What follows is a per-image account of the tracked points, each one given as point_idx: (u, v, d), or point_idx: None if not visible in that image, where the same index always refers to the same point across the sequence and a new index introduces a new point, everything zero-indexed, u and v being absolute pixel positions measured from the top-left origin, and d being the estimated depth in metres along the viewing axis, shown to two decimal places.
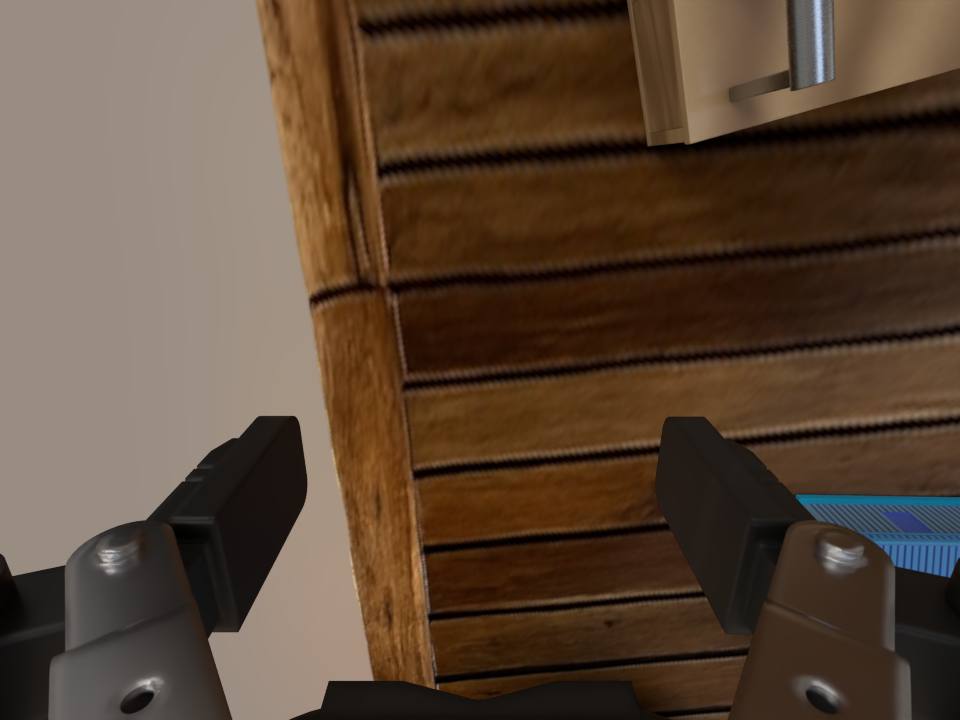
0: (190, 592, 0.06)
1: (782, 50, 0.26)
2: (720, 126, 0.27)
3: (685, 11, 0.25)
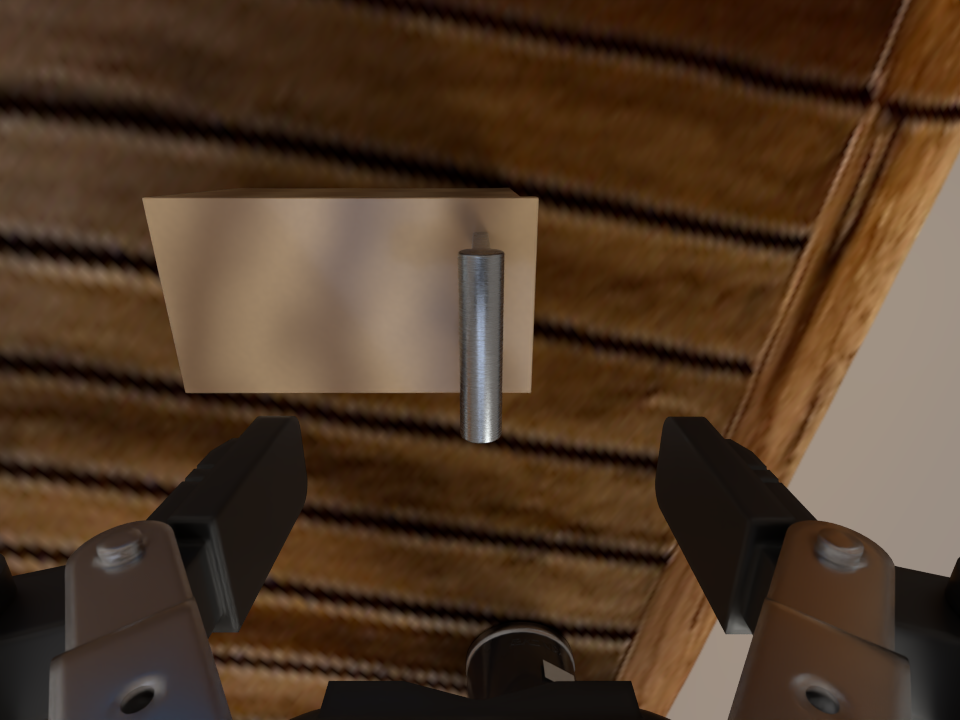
0: (190, 592, 0.06)
1: (427, 269, 0.23)
2: (500, 207, 0.22)
3: (523, 330, 0.24)
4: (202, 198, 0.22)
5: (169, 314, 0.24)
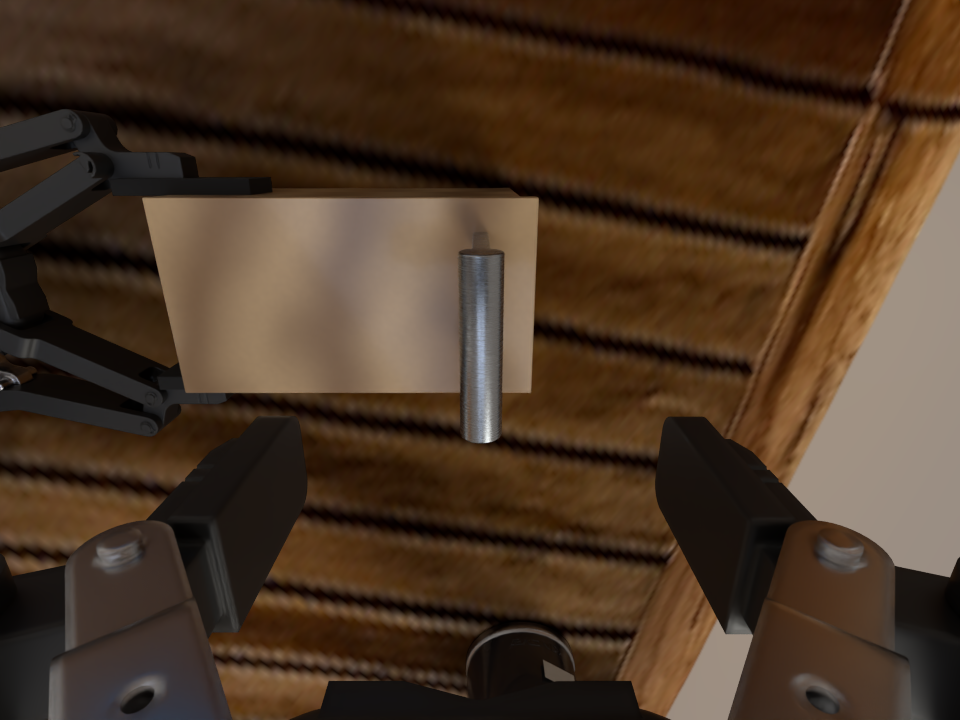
0: (190, 592, 0.06)
1: (427, 269, 0.23)
2: (500, 207, 0.22)
3: (523, 330, 0.24)
4: (202, 198, 0.22)
5: (169, 313, 0.24)
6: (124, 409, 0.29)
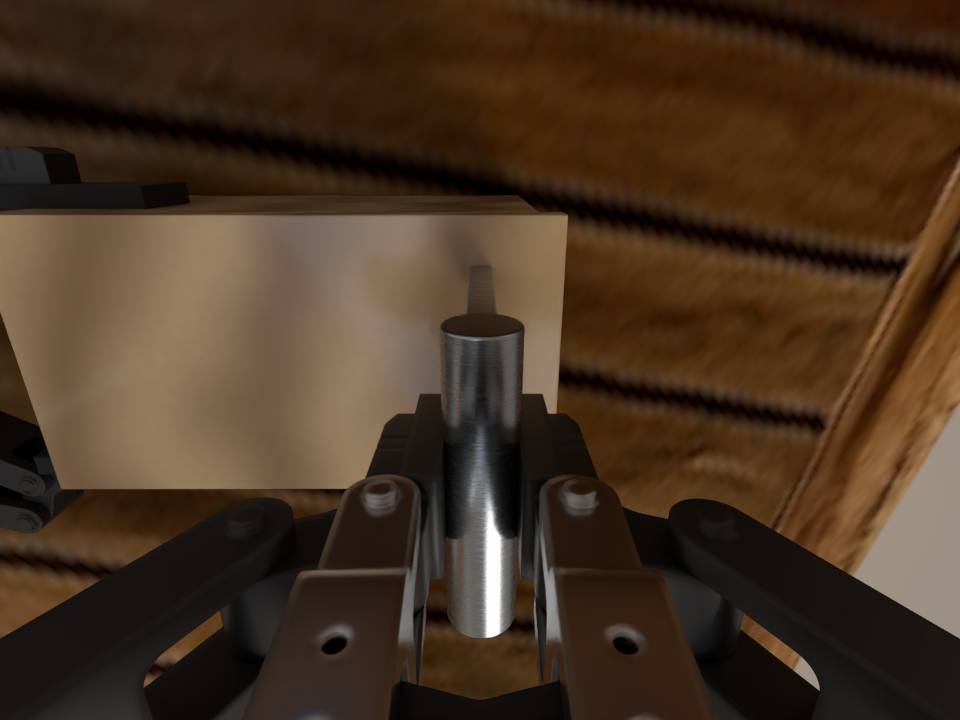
0: (412, 559, 0.07)
1: (401, 319, 0.16)
2: (510, 229, 0.15)
3: None
4: (59, 215, 0.15)
5: (26, 382, 0.17)
6: None
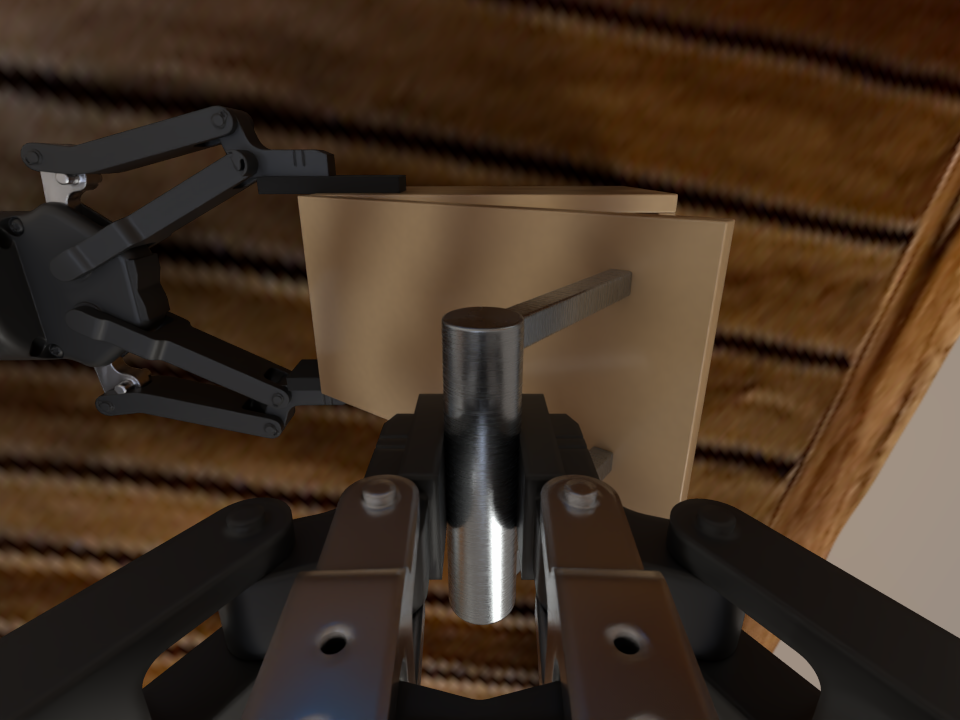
0: (411, 558, 0.07)
1: None
2: (657, 234, 0.13)
3: (673, 436, 0.15)
4: (337, 199, 0.21)
5: (312, 314, 0.24)
6: (247, 411, 0.28)
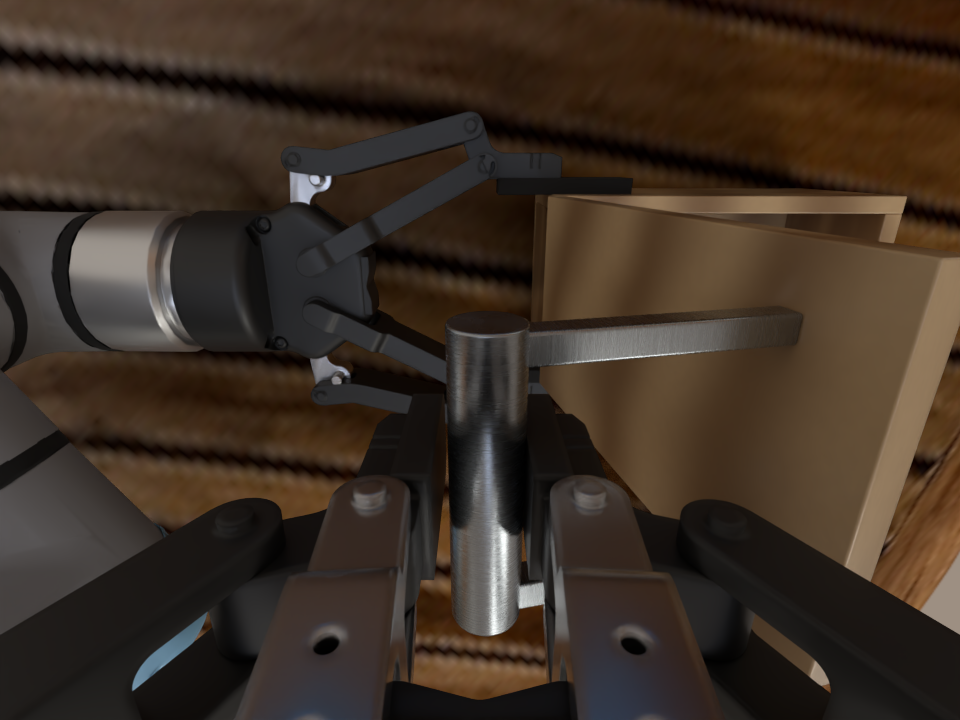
0: (403, 558, 0.07)
1: None
2: (842, 266, 0.09)
3: None
4: (571, 200, 0.21)
5: (543, 307, 0.25)
6: None
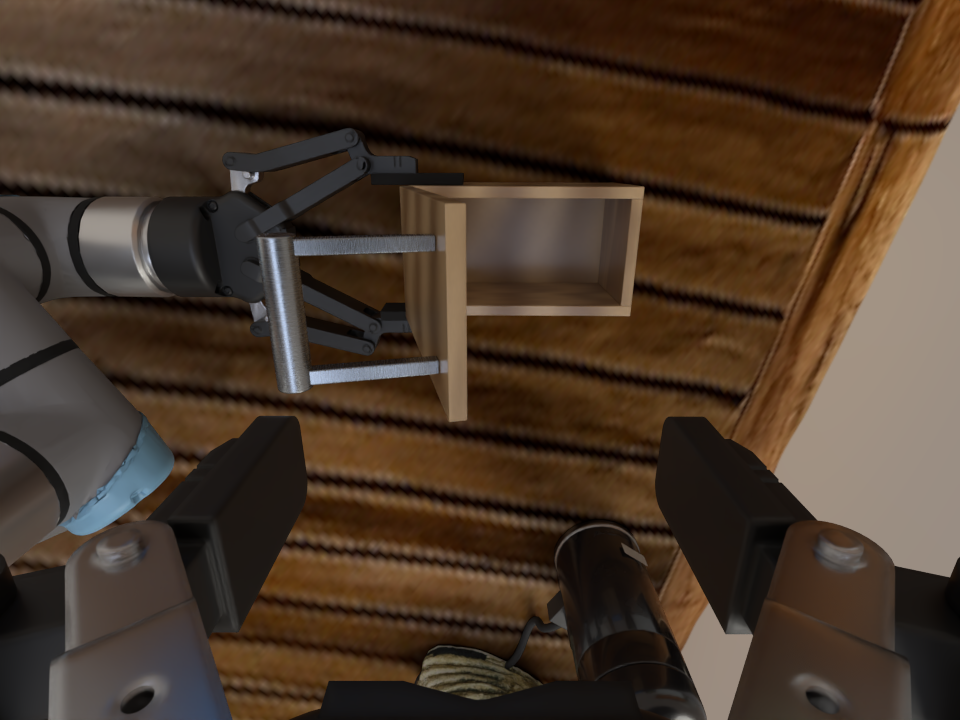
0: (190, 592, 0.06)
1: (428, 263, 0.25)
2: (437, 211, 0.21)
3: (445, 349, 0.22)
4: (404, 188, 0.33)
5: (403, 263, 0.37)
6: (351, 336, 0.41)
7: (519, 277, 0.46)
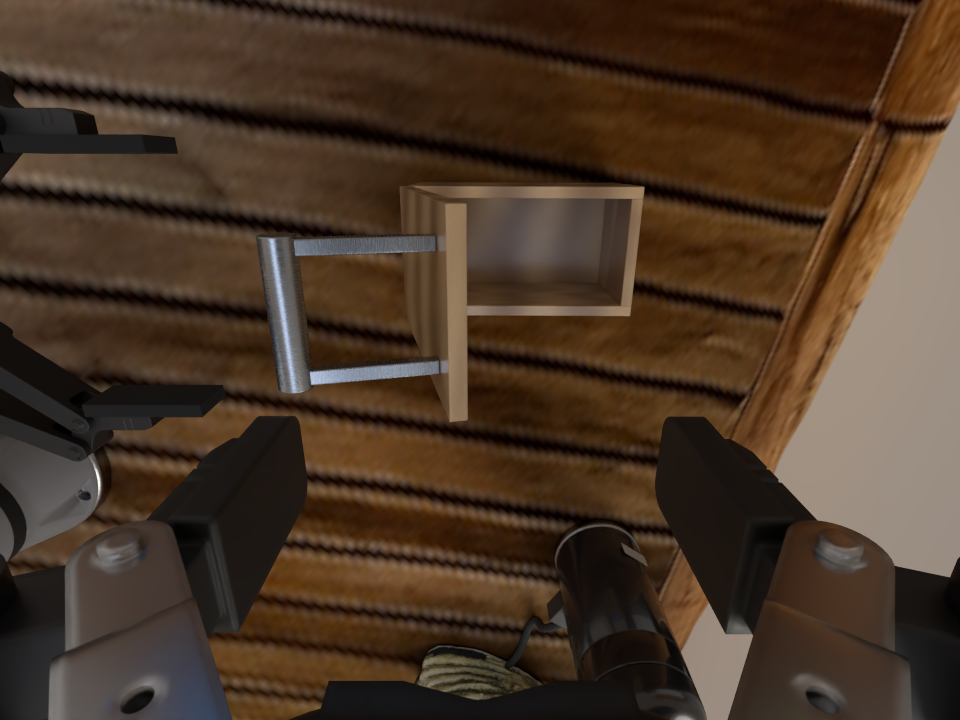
0: (190, 592, 0.06)
1: (428, 263, 0.25)
2: (438, 211, 0.21)
3: (445, 349, 0.22)
4: (404, 188, 0.33)
5: (403, 263, 0.37)
6: (55, 431, 0.29)
7: (519, 277, 0.46)
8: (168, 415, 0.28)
